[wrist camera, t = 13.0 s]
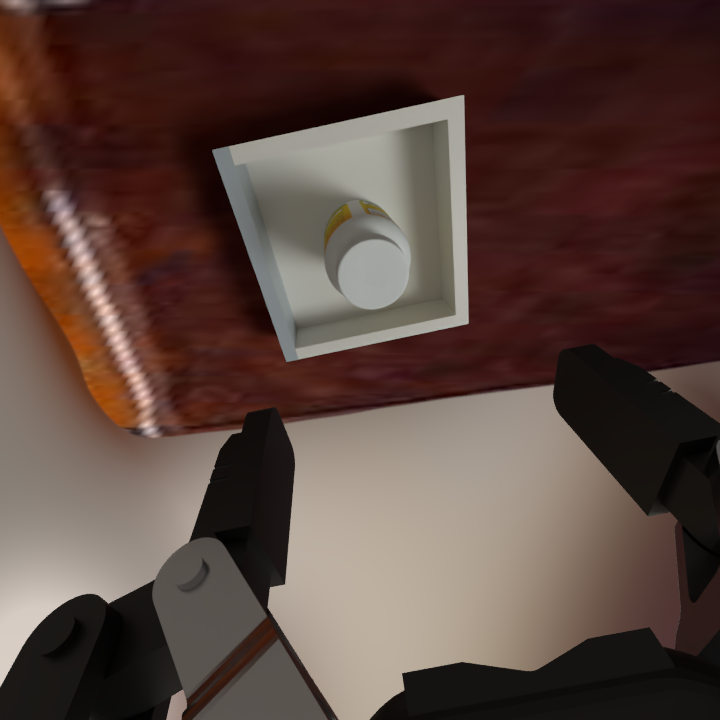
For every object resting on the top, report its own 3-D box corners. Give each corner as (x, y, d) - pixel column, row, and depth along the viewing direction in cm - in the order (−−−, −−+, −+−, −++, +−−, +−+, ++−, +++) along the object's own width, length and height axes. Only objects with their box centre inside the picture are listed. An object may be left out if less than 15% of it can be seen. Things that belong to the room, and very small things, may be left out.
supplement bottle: (387, 192, 26) (418, 214, 18) (396, 263, 29) (426, 310, 21) (315, 207, 26) (314, 236, 18) (331, 276, 29) (336, 329, 21)
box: (443, 101, 24) (463, 95, 20) (452, 304, 32) (468, 323, 28) (227, 149, 24) (212, 150, 21) (289, 338, 32) (286, 361, 29)
